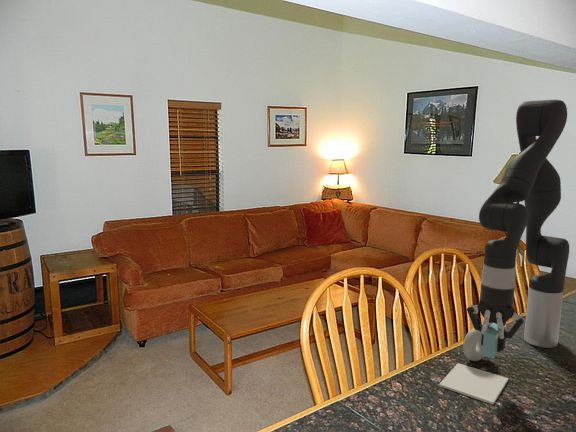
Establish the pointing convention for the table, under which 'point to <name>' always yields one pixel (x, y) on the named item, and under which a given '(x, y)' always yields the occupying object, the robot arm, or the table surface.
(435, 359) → the table surface
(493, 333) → the box
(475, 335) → the donut
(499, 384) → the mat
